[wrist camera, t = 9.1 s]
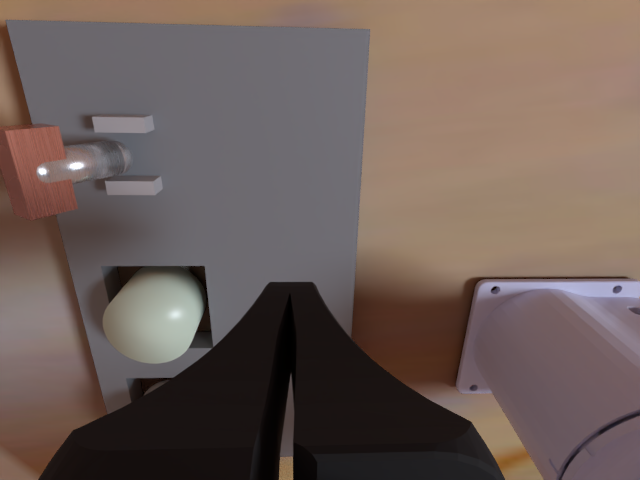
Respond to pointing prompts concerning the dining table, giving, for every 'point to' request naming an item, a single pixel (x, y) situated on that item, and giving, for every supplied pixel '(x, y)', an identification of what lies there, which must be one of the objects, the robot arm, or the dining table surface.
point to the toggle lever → (53, 167)
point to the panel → (205, 165)
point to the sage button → (155, 314)
